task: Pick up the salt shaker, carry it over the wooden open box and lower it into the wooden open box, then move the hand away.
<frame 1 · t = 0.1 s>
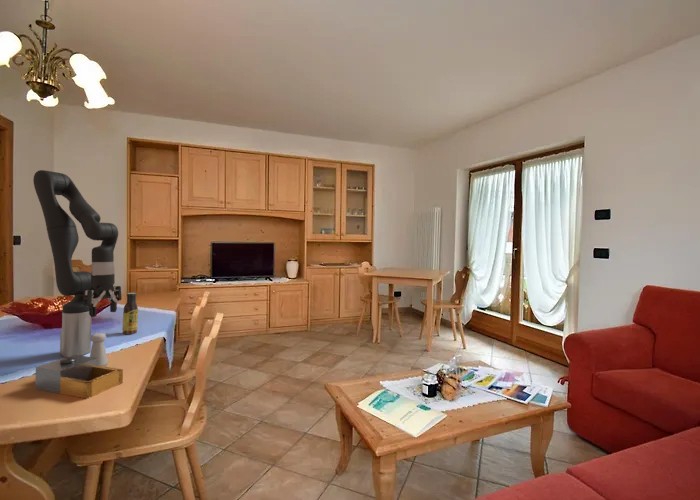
hand: (103, 314, 135), 17 cm above the table, tool pointing down, fingers open, 8 cm apart
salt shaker: (98, 370, 124), on the table
sauce bottle: (130, 333, 169), on the table
wooden open box: (77, 385, 111), on the table
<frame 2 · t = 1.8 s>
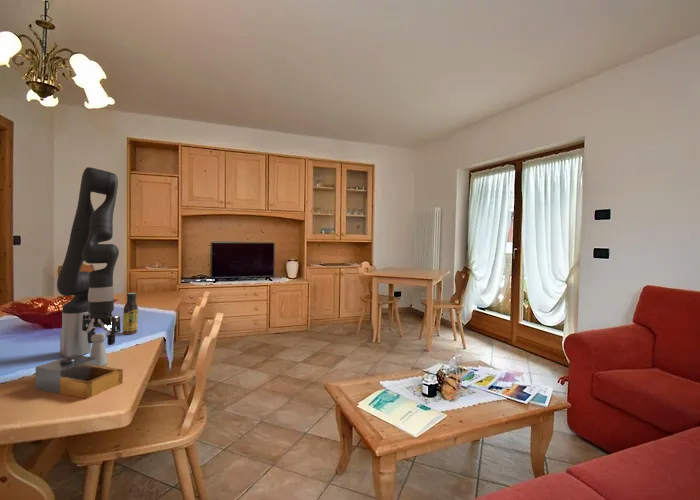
hand: (101, 343, 124), 9 cm above the table, tool pointing down, fingers open, 8 cm apart
nothing on the table moved.
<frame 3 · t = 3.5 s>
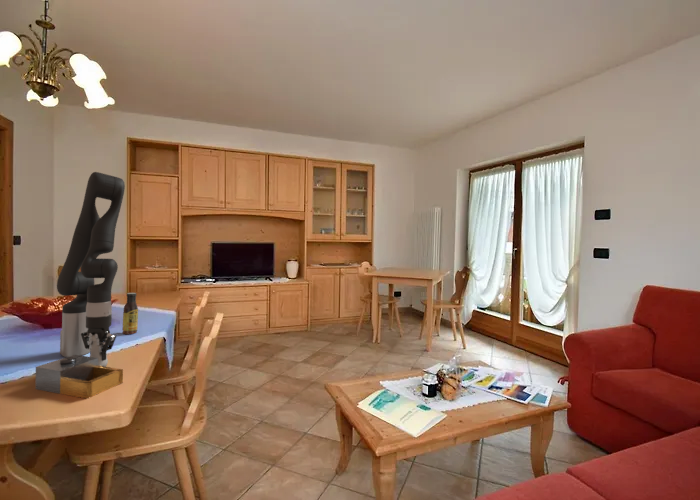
hand: (98, 360, 123), 3 cm above the table, tool pointing down, fingers closed on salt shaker, 3 cm apart
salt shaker: (97, 370, 124), on the table, touching gripper
everything else where it was.
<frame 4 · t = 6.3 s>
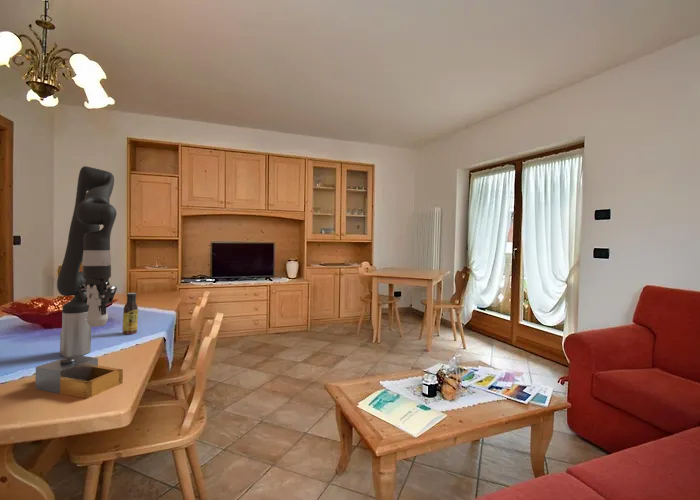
hand: (97, 315, 113), 22 cm above the table, tool pointing down, fingers closed on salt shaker, 3 cm apart
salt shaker: (97, 325, 113), point 19 cm above the table, touching gripper
everything else where it was.
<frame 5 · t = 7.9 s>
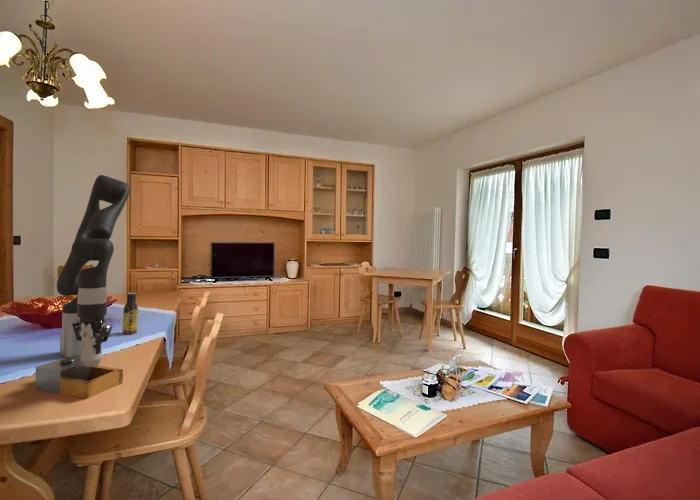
hand: (91, 354, 109), 11 cm above the table, tool pointing down, fingers closed on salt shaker, 3 cm apart
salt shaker: (91, 364, 109), point 7 cm above the table, touching gripper
everything else where it was.
when the fingers open (7 cm above the table, at t = 9.4 s): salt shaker drops 3 cm, resting on wooden open box.
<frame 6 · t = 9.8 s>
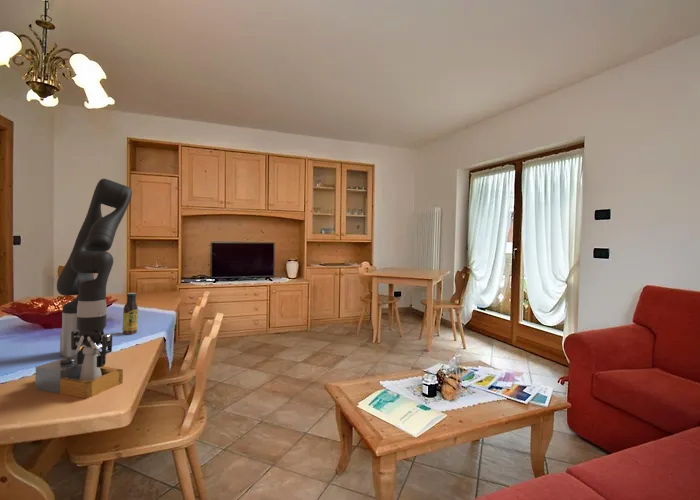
hand: (91, 364, 109), 7 cm above the table, tool pointing down, fingers open, 7 cm apart
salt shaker: (90, 386, 109), resting on wooden open box
everything else where it was.
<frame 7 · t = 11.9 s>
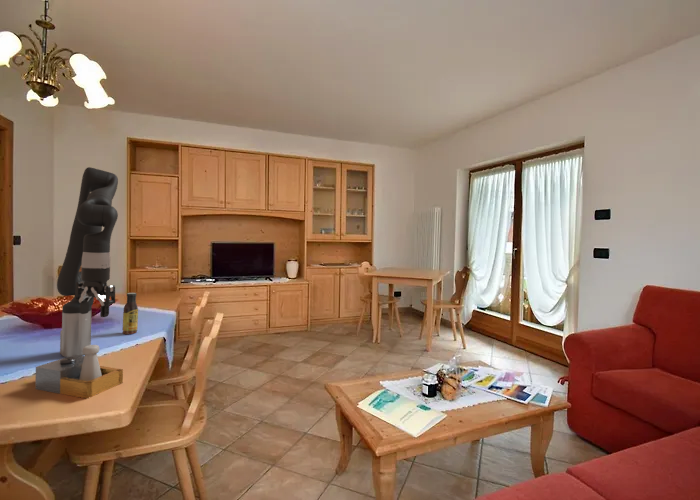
hand: (94, 315, 112), 22 cm above the table, tool pointing down, fingers open, 8 cm apart
nothing on the table moved.
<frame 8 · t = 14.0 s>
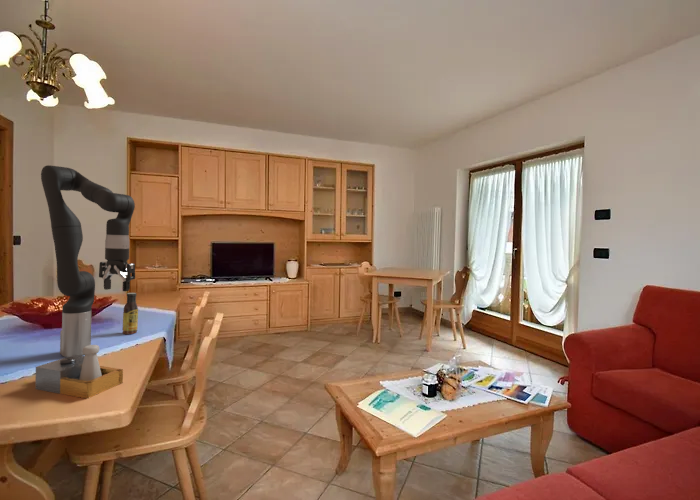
hand: (116, 290, 128), 28 cm above the table, tool pointing down, fingers open, 8 cm apart
nothing on the table moved.
at the end: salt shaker 0.2 cm from the target spot on the wooden open box, point 0.3 cm above the wooden open box's base; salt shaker tilted 0°; the gripper is holding nothing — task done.
